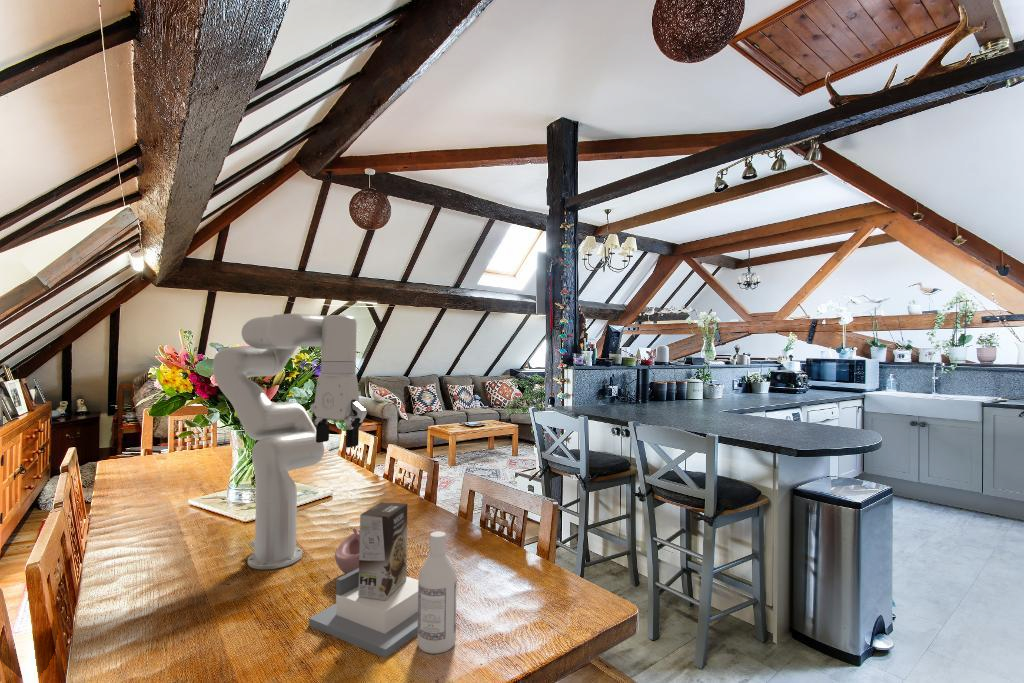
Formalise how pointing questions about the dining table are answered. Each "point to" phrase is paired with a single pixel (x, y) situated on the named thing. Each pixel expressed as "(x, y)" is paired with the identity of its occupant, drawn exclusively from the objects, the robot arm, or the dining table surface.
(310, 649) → the dining table surface
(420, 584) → the bath foam
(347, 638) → the display stand
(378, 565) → the coffee box
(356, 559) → the mortar and pestle
